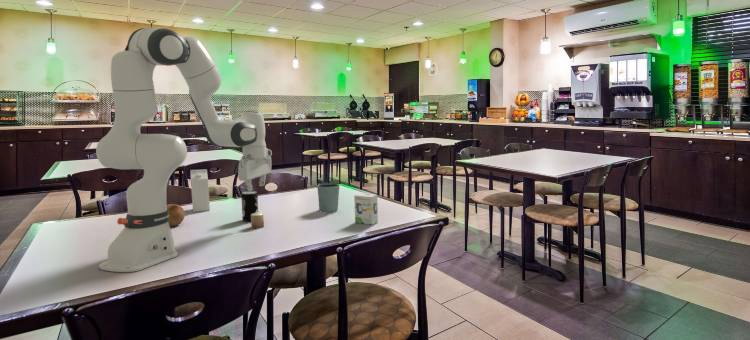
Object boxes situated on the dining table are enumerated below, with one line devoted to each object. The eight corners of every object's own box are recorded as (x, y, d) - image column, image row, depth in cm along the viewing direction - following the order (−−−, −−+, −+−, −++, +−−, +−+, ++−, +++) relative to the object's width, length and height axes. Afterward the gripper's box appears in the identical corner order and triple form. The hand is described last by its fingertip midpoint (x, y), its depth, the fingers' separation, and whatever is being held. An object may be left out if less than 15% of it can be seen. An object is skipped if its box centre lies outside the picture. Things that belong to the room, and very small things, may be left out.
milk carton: (192, 209, 200) (190, 169, 198) (208, 207, 203) (206, 168, 201) (193, 212, 194) (190, 171, 191) (209, 210, 197) (207, 170, 194)
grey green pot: (314, 212, 193) (313, 186, 191) (323, 207, 203) (322, 182, 201) (334, 213, 190) (334, 187, 188) (343, 208, 200) (342, 183, 198)
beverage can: (254, 222, 176) (252, 194, 175) (239, 221, 178) (238, 193, 176) (261, 218, 183) (260, 191, 181) (247, 217, 184) (246, 190, 182)
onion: (179, 233, 171) (182, 214, 167) (154, 229, 169) (156, 209, 164) (186, 220, 179) (189, 200, 175) (162, 215, 177) (164, 195, 173)
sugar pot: (260, 228, 167) (259, 215, 166) (249, 228, 168) (248, 215, 167) (266, 225, 171) (265, 212, 171) (255, 225, 172) (254, 212, 172)
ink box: (378, 222, 175) (378, 194, 174) (372, 225, 171) (372, 196, 169) (360, 219, 179) (360, 192, 178) (354, 222, 175) (353, 194, 173)
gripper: (248, 156, 155) (250, 193, 157) (273, 150, 174) (275, 183, 177) (232, 156, 156) (234, 193, 158) (259, 150, 176) (261, 183, 178)
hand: (256, 188), depth 168 cm, fingers open, 8 cm apart
